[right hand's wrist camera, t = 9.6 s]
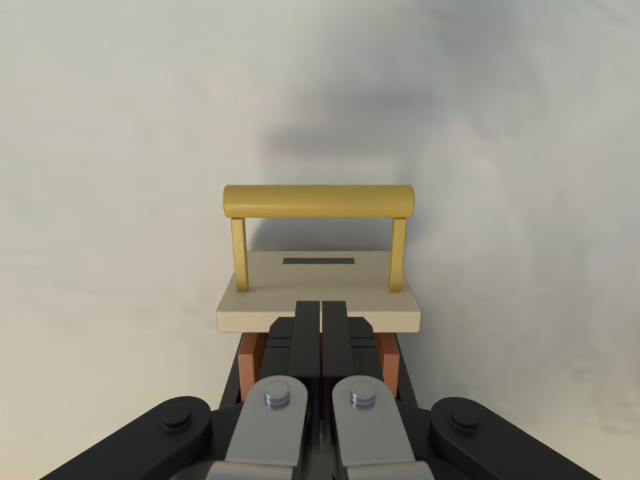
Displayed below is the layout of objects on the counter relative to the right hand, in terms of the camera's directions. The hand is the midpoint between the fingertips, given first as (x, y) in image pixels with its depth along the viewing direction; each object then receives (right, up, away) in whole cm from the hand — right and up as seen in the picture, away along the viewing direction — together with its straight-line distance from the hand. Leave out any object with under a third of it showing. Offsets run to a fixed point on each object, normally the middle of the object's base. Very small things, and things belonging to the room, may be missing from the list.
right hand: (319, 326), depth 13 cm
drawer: (0, -2, +16) cm, 16 cm away
